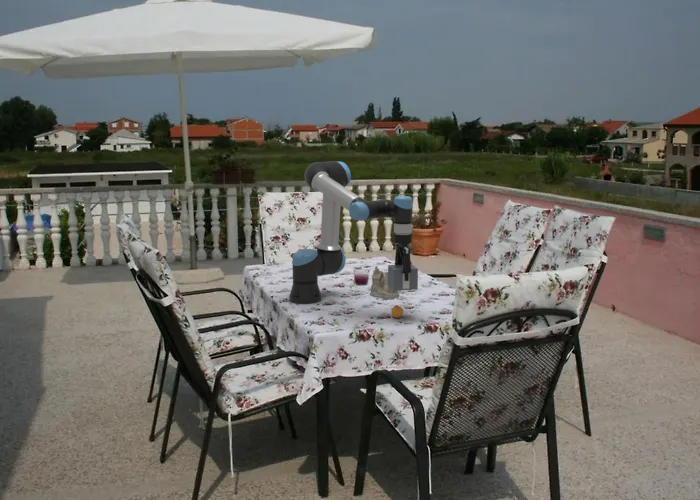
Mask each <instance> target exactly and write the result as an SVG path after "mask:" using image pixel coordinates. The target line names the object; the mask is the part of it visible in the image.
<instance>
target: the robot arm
mask: <svg viewBox="0 0 700 500" xmlns="http://www.w3.org/2000/svg"><path fill="white" fill-rule="evenodd" d="M351 179H352V176H351V170H350V168H349V166H348V165H347V163H345V162H344V161H336V160H333V161H316V162H313V163H311V164H309V165H308V166H307V168H306V169H305V171H304V181H305V183H306V185H307V186H308V187H309V188H310V189H311V190H313V191H314V192H317V193H318V192H320V193H322V202H321V203H322V204H321V221H320V223H321V224H320V225H321V226H320V241H319V242H320V243H319V244H317V245H316V249H314V248H312V249H310V248H308V249H301V250H298V251H295V252H294V253H293V254H292V260H291V264H292V286H291V289H290V291H289V294H288V295H289V296H288V297H289V298H288V299H289V300H288V301H290V302H291V303H293V304H303V305H304V304H306V305H307V304H316V303H318V302H319V303H320V302H321V301H322V298H323V297H322V293H321V290H320V287H319V284H318V283H319V282H318V281H319V280H318V278H319V277H323V276H327V275H334V274H338V273H340V272H341V271H343V269H344V268H345V265H346V261H347V260H346V255H345V252H344V251H343V250H342V246H341V245H340V244H339V239H340V238H339V237H340V236H339V235H340V223H341V221H340V219H341V208H344V209H345V210H347V211H348V213H349V216H350V218H351V219H352V220H354V221H367V220H375V219H384V218H385V219H386V218H387V219H389V218H390V219H393V233H394V235H393V243H394V244H395V257H394V265H403V272H402V273H403V289H408V288H409V273H410V272H411V262H412V261H411V262H410V260H411V248H409V247H408V245H409V244H412V243H413V234H412V233H413V228H414V225H413V208H414V207H413V206H414V205H413V198H412V197H411V196H408V195H406V196H405V195H398V196H397V195H395V196H394V199H393V200H392V199H385V198H381V199H380V198H378V199H376V200H366V199H364V198H362V197H361V196H359V195H357V194H356V193H354V192H353V191H351V190H350V189H348V188H347V186H348V185H349V183H351Z"/></svg>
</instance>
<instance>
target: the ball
mask: <svg viewBox="0 0 700 500" xmlns="http://www.w3.org/2000/svg"><path fill="white" fill-rule="evenodd" d="M403 314H404V310H403V308H402V307H401V306H399V305H395V306H394V307H392V309H391V316H392V317H394V318H395V319H399V318H401V317H403Z"/></svg>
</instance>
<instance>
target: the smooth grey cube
mask: <svg viewBox="0 0 700 500" xmlns="http://www.w3.org/2000/svg"><path fill="white" fill-rule="evenodd" d="M387 272H388V286H389V287H390V288H391V289H393V290H394V291H397V290H398V291H414V290H415V291H417V290H418V287H419V286H418V283H419V279H418V278H419V269H418V268H417V267H416V266H414V265H413V263H412V264H411V272H410V273H409V288H408V289H403V273H402V272H403V265H395V264H388V265H387Z"/></svg>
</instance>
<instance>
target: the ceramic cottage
mask: <svg viewBox="0 0 700 500" xmlns="http://www.w3.org/2000/svg"><path fill="white" fill-rule="evenodd" d="M374 268H375V269H374V270H373V272H372V275H371V279H372V280H371V282H372V283H371V286H370V294H369V296H370V297H373V298H379V299H385V300H394V298H396V299H398V298H400V297H401V295H400V294H399V290H397V291H394V290H393V289H391V288H390V287H389V286H388V271H385V272H384V273H383V270H380V268H378V266H377V265H376V266H374ZM399 296H400V297H399Z"/></svg>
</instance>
